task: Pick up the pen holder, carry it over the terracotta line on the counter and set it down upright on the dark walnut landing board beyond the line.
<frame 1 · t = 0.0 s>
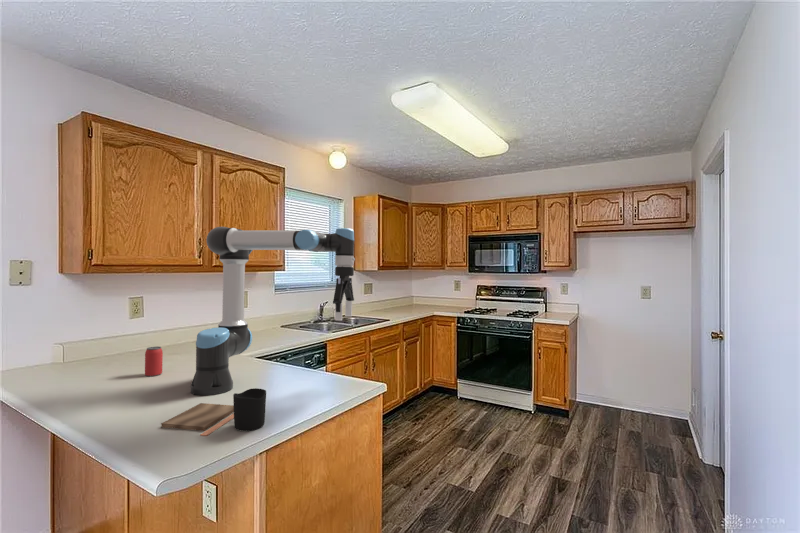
hand: (343, 318, 160), 28 cm above the table, tool pointing down, fingers open, 13 cm apart
launch line: (228, 419, 124), on the table
landing board: (202, 417, 125), on the table
pen holder: (249, 426, 120), on the table
beer can: (153, 375, 174), on the table
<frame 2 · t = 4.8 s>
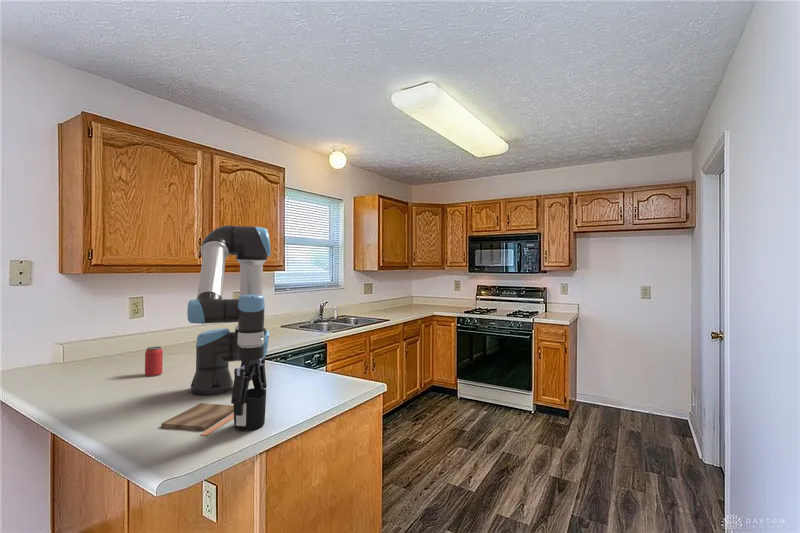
hand: (249, 419, 120), 2 cm above the table, tool pointing down, fingers closed on pen holder, 9 cm apart
pen holder: (249, 426, 120), on the table, touching gripper
everything else where it was.
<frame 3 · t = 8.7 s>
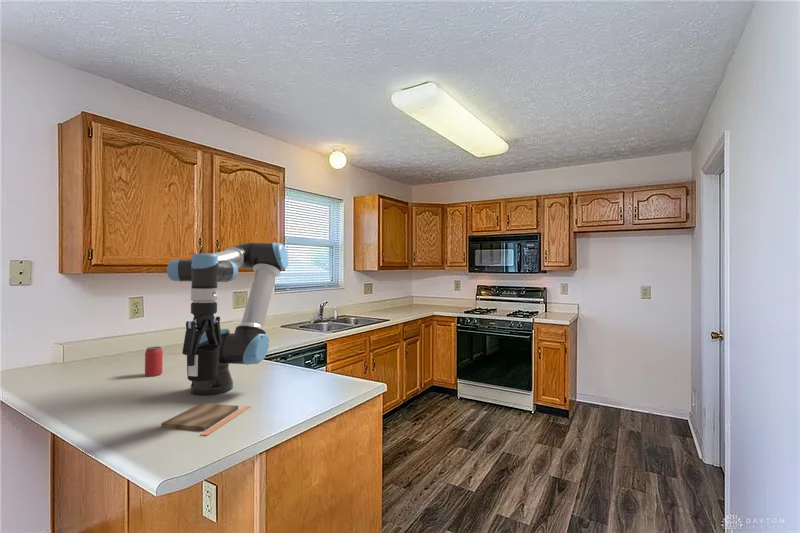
hand: (203, 371, 125), 15 cm above the table, tool pointing down, fingers closed on pen holder, 9 cm apart
pen holder: (202, 378, 125), point 12 cm above the table, touching gripper
everything else where it was.
when the fingers open (3 cm above the table, at t = 12.4 s): pen holder stays where it is, resting on landing board.
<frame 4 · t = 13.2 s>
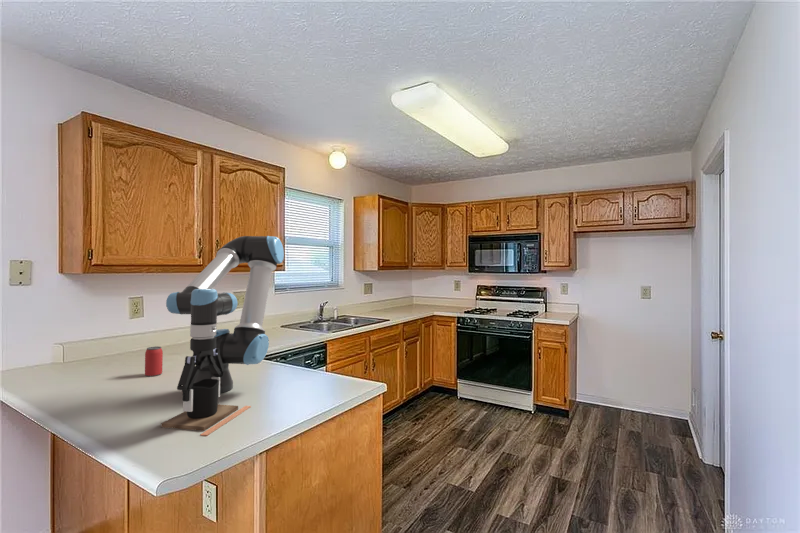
hand: (202, 403, 125), 5 cm above the table, tool pointing down, fingers open, 13 cm apart
pen holder: (202, 414, 125), point 1 cm above the table, touching landing board
everything else where it was.
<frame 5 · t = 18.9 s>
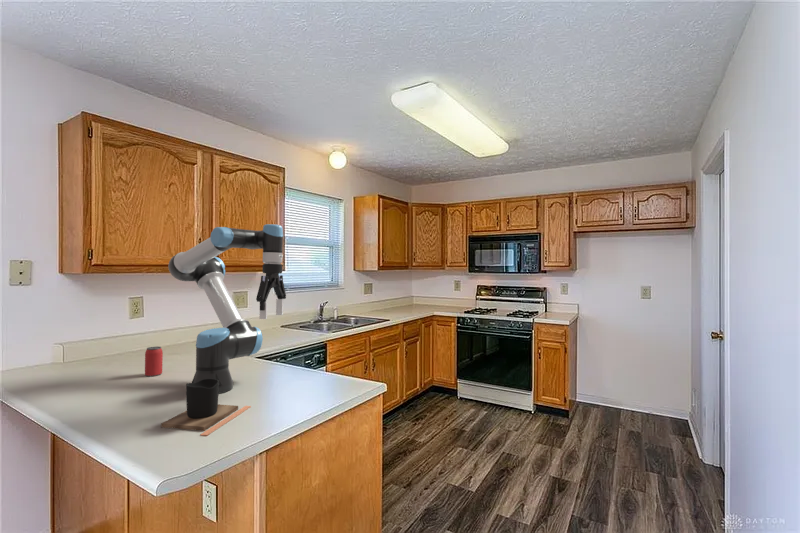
hand: (271, 316, 156), 29 cm above the table, tool pointing down, fingers open, 13 cm apart
nothing on the table moved.
at the end: pen holder inside the target area (0.1 cm from its centre), point 1.0 cm above the table; pen holder tilted 0°; the gripper is holding nothing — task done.
